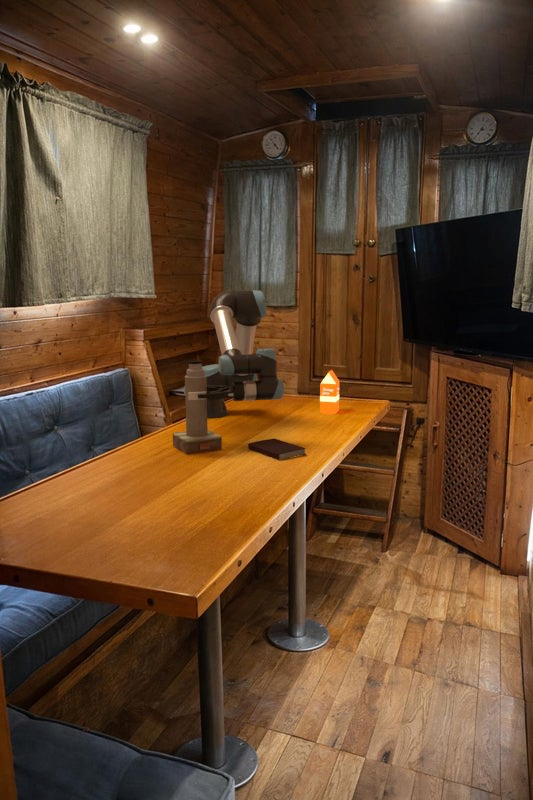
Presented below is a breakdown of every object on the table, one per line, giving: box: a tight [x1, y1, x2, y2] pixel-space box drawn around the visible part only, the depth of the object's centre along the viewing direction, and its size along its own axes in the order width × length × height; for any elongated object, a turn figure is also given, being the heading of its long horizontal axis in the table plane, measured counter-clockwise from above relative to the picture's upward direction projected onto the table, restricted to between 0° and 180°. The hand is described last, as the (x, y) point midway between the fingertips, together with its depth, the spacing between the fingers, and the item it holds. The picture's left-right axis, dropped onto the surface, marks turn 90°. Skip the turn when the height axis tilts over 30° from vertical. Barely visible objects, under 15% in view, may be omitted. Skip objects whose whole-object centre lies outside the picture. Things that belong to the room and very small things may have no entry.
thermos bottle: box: [184, 360, 209, 437], centre depth 243 cm, size 8×8×28 cm
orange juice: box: [319, 369, 340, 415], centre depth 309 cm, size 8×9×20 cm
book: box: [247, 438, 306, 461], centre depth 240 cm, size 12×19×3 cm, turn 36°
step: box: [172, 429, 223, 455], centre depth 246 cm, size 15×14×5 cm
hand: (186, 393), depth 242 cm, fingers open, 12 cm apart
